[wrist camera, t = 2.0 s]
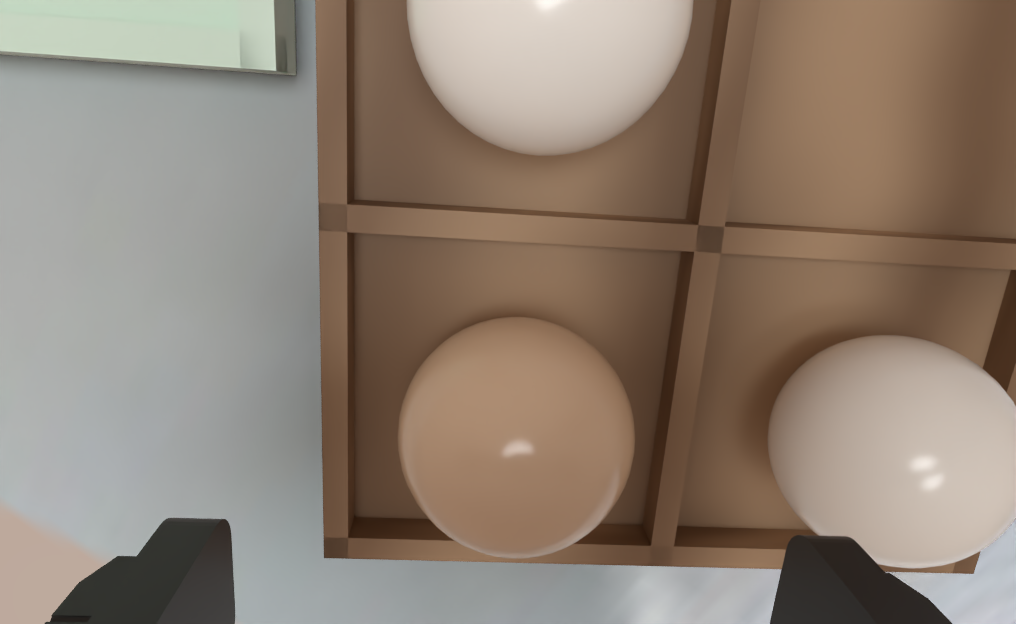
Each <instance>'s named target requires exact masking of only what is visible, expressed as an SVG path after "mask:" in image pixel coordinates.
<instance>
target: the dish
mask: <svg viewBox="0 0 1016 624" xmlns="http://www.w3.org/2000/svg"><path fill="white" fill-rule="evenodd" d="M0 54H1V55H15V56H29V57H43V58H57V59H71V60H85V61H99V62H113V63H127V64H141V65H155V66H169V67H183V68H197V69H211V70H225V71H239V72H253V73H268V74H282V75H296V42H295V0H0Z"/></svg>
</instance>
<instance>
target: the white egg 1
mask: <svg viewBox="0 0 1016 624" xmlns="http://www.w3.org/2000/svg"><path fill="white" fill-rule="evenodd" d="M692 14H693V0H407V20H408V26H409V32H410V38H411V42H412V46H413V49H414V53H415V56H416V60H417V62H418V64H419V67H420V69H421V71H422V74H423V76H424V78H425V80H426V82H427V83H428V85H429V87H430V88H431V90H432V92H433V94H434V95H435V96H436V98H437V99H438V100H439V102H440V103H441V104H442V105H443V107H444V108H445V109H446V110H447V111H448V112H449V113H450V114H451V115H452V116H453V117H454V118H455V119H456V120H457V121H458V122H459V123H460V124H461V125H463V126H464V127H465V128H466V129H468V130H469V131H470V132H471V133H473V134H475V135H476V136H478V137H480V138H481V139H483V140H485V141H487V142H489V143H491V144H493V145H496V146H498V147H500V148H503V149H506V150H510V151H513V152H517V153H521V154H529V155H536V156H556V155H563V154H570V153H576V152H579V151H583V150H587V149H590V148H593V147H595V146H598V145H600V144H602V143H605V142H607V141H609V140H610V139H612V138H614V137H616V136H617V135H619V134H621V133H622V132H624V131H625V130H626V129H628V128H629V127H630V126H632V125H633V124H634V123H635V122H637V121H638V120H639V119H640V118H641V117H642V116H643V115H644V114H645V113H646V112H647V111H648V110H649V109H650V108H651V107H652V105H653V104H654V103H655V102H656V100H657V99H658V98H659V96H660V95H661V94H662V93H663V91H664V90H665V88H666V87H667V85H668V83H669V82H670V80H671V78H672V77H673V75H674V73H675V71H676V69H677V67H678V65H679V62H680V60H681V58H682V56H683V53H684V49H685V46H686V43H687V40H688V37H689V32H690V26H691V21H692Z"/></svg>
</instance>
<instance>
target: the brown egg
mask: <svg viewBox="0 0 1016 624" xmlns="http://www.w3.org/2000/svg"><path fill="white" fill-rule="evenodd" d="M634 450H635V430H634V418H633V413H632V409H631V404H630V401H629V399H628V396H627V394H626V391H625V389H624V386H623V383H622V382H621V380H620V378H619V376H618V375H617V373H616V371H615V370H614V369H613V367H612V366H611V365H610V363H609V362H608V361H607V360H606V358H605V357H604V356H603V355H602V354H601V353H600V352H599V351H598V350H597V349H596V348H595V347H594V346H593V345H592V344H591V343H589V342H588V341H586V340H585V339H584V338H582V337H581V336H579V335H578V334H576V333H574V332H572V331H570V330H569V329H567V328H565V327H563V326H560V325H557V324H555V323H552V322H549V321H545V320H541V319H536V318H528V317H504V318H497V319H491V320H488V321H484V322H480V323H477V324H475V325H472V326H470V327H467V328H465V329H463V330H461V331H460V332H458V333H456V334H454V335H453V336H451V337H450V338H448V339H447V340H446V341H444V342H443V343H442V344H441V345H439V346H438V347H437V348H436V349H435V350H434V351H433V352H432V353H431V354H430V355H429V356H428V357H427V359H426V360H425V361H424V362H423V364H422V365H421V366H420V368H419V369H418V370H417V372H416V374H415V376H414V377H413V379H412V381H411V383H410V385H409V387H408V390H407V392H406V395H405V397H404V400H403V403H402V407H401V411H400V416H399V427H398V452H399V457H400V462H401V467H402V472H403V475H404V477H405V480H406V483H407V486H408V487H409V489H410V491H411V493H412V495H413V497H414V499H415V501H416V503H417V504H418V506H419V507H420V508H421V510H422V511H423V513H424V514H425V515H426V516H427V517H428V518H429V519H430V520H431V521H432V523H433V524H434V525H435V526H436V527H437V528H438V529H440V530H441V531H442V532H443V533H445V534H446V535H447V536H448V537H450V538H451V539H453V540H455V541H456V542H458V543H459V544H461V545H463V546H466V547H468V548H470V549H472V550H475V551H477V552H481V553H484V554H487V555H491V556H496V557H501V558H513V559H516V558H531V557H538V556H543V555H547V554H550V553H554V552H556V551H559V550H561V549H564V548H566V547H568V546H570V545H572V544H574V543H576V542H577V541H579V540H580V539H582V538H583V537H584V536H586V535H587V534H589V533H590V532H591V531H592V530H593V529H595V528H596V527H597V526H598V525H599V524H600V523H601V522H602V521H603V520H604V519H605V518H606V517H607V515H608V514H609V513H610V511H611V510H612V509H613V507H614V506H615V504H616V503H617V501H618V499H619V497H620V496H621V494H622V492H623V490H624V488H625V486H626V483H627V480H628V477H629V475H630V471H631V466H632V461H633V457H634Z"/></svg>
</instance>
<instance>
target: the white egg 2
mask: <svg viewBox="0 0 1016 624" xmlns="http://www.w3.org/2000/svg"><path fill="white" fill-rule="evenodd" d="M767 438H768V452H769V458H770V464H771V468H772V471H773V474H774V477H775V480H776V482H777V484H778V487H779V489H780V491H781V492H782V494H783V496H784V498H785V499H786V501H787V502H788V504H789V505H790V507H791V508H792V509H793V511H794V512H795V513H796V515H797V516H798V517H799V518H800V519H801V520H802V521H803V522H804V523H805V524H806V525H807V526H808V527H809V528H810V529H811V530H812V531H813V532H815V533H816V534H817V535H819V536H847V537H850V538H852V539H854V540H855V541H856V542H857V543H858V544H859V545H860V546H861V547H862V548H863V549H864V550H865V551H866V553H867V554H868V555H869V556H870V557H871V558H872V559H873V560H874V561H875V562H876V563H877V564H880V565H885V566H891V567H901V568H927V567H935V566H942V565H947V564H950V563H954V562H957V561H960V560H963V559H965V558H967V557H969V556H972V555H974V554H976V553H978V552H980V551H981V550H983V549H985V548H986V547H988V546H989V545H991V544H992V543H993V542H995V541H996V540H997V539H998V538H999V537H1000V536H1001V535H1002V534H1004V533H1005V531H1006V530H1007V529H1008V528H1009V527H1010V526H1011V524H1012V523H1013V522H1014V520H1015V519H1016V406H1015V404H1014V402H1013V400H1012V399H1011V398H1010V397H1009V395H1008V394H1007V393H1006V392H1005V390H1004V389H1003V388H1002V387H1001V385H1000V384H999V383H998V382H997V381H996V380H995V379H994V378H993V377H992V376H990V375H989V374H988V373H987V372H986V371H985V370H983V369H982V368H981V367H980V366H979V365H978V364H976V363H974V362H973V361H971V360H969V359H968V358H966V357H964V356H963V355H961V354H959V353H958V352H956V351H954V350H951V349H949V348H947V347H944V346H942V345H939V344H936V343H934V342H930V341H927V340H923V339H919V338H913V337H907V336H899V335H872V336H865V337H859V338H855V339H851V340H847V341H844V342H840V343H838V344H835V345H833V346H830V347H828V348H826V349H824V350H822V351H820V352H819V353H817V354H816V355H814V356H813V357H811V358H810V359H808V360H807V361H806V362H805V363H804V364H802V365H801V366H800V367H799V368H798V369H797V370H796V371H795V372H794V373H793V374H792V375H791V376H790V378H789V379H788V380H787V382H786V383H785V384H784V386H783V387H782V389H781V391H780V393H779V394H778V396H777V398H776V401H775V403H774V405H773V408H772V412H771V415H770V419H769V427H768V436H767Z"/></svg>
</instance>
